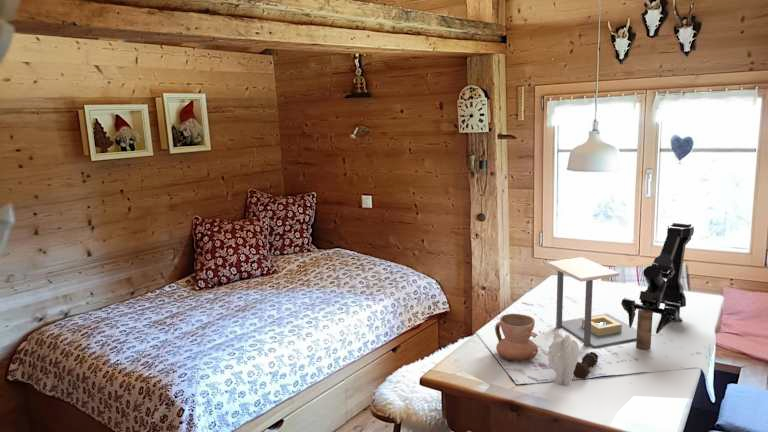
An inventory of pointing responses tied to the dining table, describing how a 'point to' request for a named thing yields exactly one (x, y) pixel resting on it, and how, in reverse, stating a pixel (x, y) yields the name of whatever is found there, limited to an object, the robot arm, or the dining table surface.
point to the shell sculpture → (563, 357)
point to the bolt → (585, 365)
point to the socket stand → (589, 306)
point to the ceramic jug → (516, 337)
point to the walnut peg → (644, 329)
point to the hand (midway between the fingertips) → (643, 330)
